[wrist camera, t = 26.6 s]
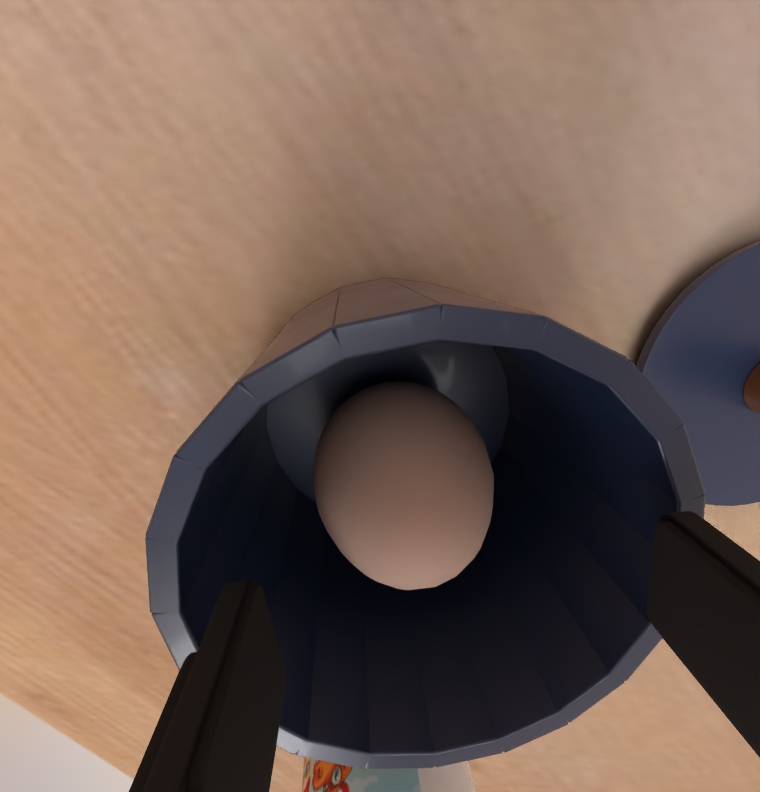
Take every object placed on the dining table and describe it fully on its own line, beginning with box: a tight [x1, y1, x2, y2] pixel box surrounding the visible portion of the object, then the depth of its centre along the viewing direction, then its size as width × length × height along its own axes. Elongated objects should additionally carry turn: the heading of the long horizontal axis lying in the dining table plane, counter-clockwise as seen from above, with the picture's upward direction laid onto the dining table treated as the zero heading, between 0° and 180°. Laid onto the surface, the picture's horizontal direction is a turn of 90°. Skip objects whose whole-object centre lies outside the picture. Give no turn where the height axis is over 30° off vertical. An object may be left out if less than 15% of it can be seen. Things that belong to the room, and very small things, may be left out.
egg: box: [314, 381, 494, 590], centre depth 16 cm, size 7×7×10 cm
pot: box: [145, 278, 705, 769], centre depth 15 cm, size 13×13×12 cm
